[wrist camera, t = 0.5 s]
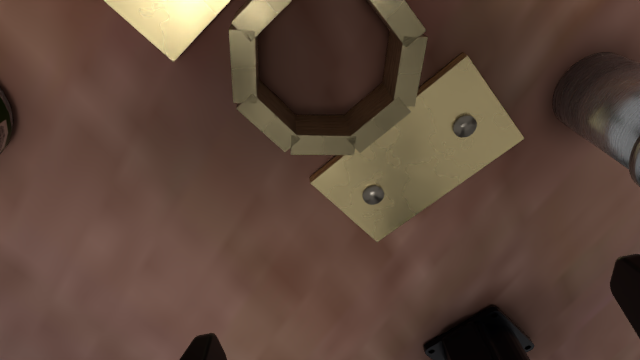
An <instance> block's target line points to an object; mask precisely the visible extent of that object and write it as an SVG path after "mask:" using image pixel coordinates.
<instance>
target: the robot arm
mask: <svg viewBox="0 0 640 360" xmlns="http://www.w3.org/2000/svg"><path fill="white" fill-rule="evenodd" d="M610 288H611V292H612V294H613V296H614V297H615V299H616V301H617V302H618V304H619V306H620V307H621V309H622V310H623V312H624V314H625V315H626V317H627V319H628V320H629V322H630V323H631V325H632V327H633V328H634V330H635V332H636V333H637V335H638V336H639V338H640V255H639V254H633V255H628V256H622V257H619V258H618V259H617V260H616V262H615V266H614V270H613V273H612V277H611V281H610ZM533 348H534V344H533V343H532V341H531V340H530V339H529V338H528V337H527V336H526V335H525V334H524V333H523V332H522V331H521V330H520V329H519V328H518V327H517V326H516V325H515V324H514V323H513V322H512V321H511V320H510V319H509V318H508V317H507V316H506V315H505V314H504V313H503V312H502V311H501V310H500V309H499V308H498V307H490V308H488V309H486V310H484V311H483V312H481V313H479V314H478V315H476V316H474V317H472V318H471V319H469V320H467V321H465V322H464V323H462V324H460V325H459V326H457V327H455V328H453V329H452V330H450V331H448V332H447V333H445V334H443V335H441V336H440V337H438V338H436V339H434V340H433V341H431V342H429V343H428V344H426V345H425V346H424V351H425V354H426V355H427V356H429V357H430V358H431V359H433V360H530V359H529V357H528V356H527V354H526V352H528V351H530V350H532V349H533ZM180 360H227V358H226V355H225V352H224V350H223V348H222V346H221V344H220V342H219V340H218V338H217V336H216V335H215V334H214V333H209V334H204V335H199V336H197V337H195V338H194V339H193V341H192V342H191V344H190V345H189V347H188V348H187V350H186V351H185V352H184V354H183V355H182V357H181V358H180Z"/></svg>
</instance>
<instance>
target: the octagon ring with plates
mask: <svg viewBox="0 0 640 360" xmlns="http://www.w3.org/2000/svg"><path fill="white" fill-rule="evenodd" d="M104 1H105V2H106V3H107V4H108V5H109V6H111V7H112V8H113V9H114V10H115V11H116V12H117V13H119V14H120V15H121V16H122V17H123V18H124V19H125V20H126V21H128V22H129V23H130V24H131V25H132V26H133V27H134V28H136V29H137V30H138V31H139V32H140V33H141V34H142V35H143V36H145V37H146V38H147V39H148V40H149V41H150V42H151V43H152V44H154V45H155V46H156V47H157V48H158V49H159V50H160V51H162V52H163V53H164V54H165V55H166V56H167V57H168V58H169V59H171V60H172V61H173V62H174V61H175V60H176V59H177V58H178V57H179V56H180V55H181V53H182V52H183V51H184V50H185V49H186V48H187V47H188V46H189V45H190V44H191V43H192V42H193V40H194V39H195V38H196V37H197V36H198V35H199V34H200V33H201V32H202V31H203V30H204V29H205V27H206V26H207V25H208V24H209V23H210V22H211V21H212V20H213V19H214V18H215V17H216V16H217V14H218V13H219V12H220V11H221V10H222V9H223V8H224V7H225V6H226V5H227V4H228V3H229V1H230V0H104ZM291 1H292V0H247V1H246V2H245V3H244V4H243V5H242V6H241V8H240V9H239V10H238V11H237V12H236V14H235V16H234V18H233V20H232V22H231V23H232V24H231V26H230V29H229V41H230V57H231V74H232V90H233V103H237V108H236V109H237V110H238V111H239V112H240V113H242V114H243V115H244V116H245V117H246V118H247V119H248V120H249V121H250V122H252V123H253V124H254V125H255V126H256V127H257V128H258V129H259V130H260V131H262V132H263V133H264V134H265V135H266V136H267V137H268V138H269V139H271V140H272V141H273V142H274V143H275V144H276V145H277V146H278V147H279V148H281V149H282V150H283V151H284V152H286V151H287V150H289V149H291V155H336V156H335V157H334V158H333V159H332V160H330V161H329V162H328V163H327V164H325V165H324V166H323V167H322V168H320V169H319V170H318V171H317V172H316V173H314V174H313V175H312V176H311V177H310V183H311V184H312V185H313V186H314V187H315V188H316V189H318V190H319V191H320V192H321V193H322V194H323V195H324V196H326V197H327V198H328V199H329V200H330V201H331V202H332V203H333V204H335V205H336V206H337V207H338V208H339V209H340V210H341V211H343V212H344V213H345V214H346V215H347V216H348V217H349V218H350V219H352V220H353V221H354V222H355V223H356V224H357V225H358V226H359V227H361V228H362V229H363V230H364V231H365V232H366V233H367V234H369V235H370V236H371V237H372V238H373V239H374V240H375V241H376V242H378V241H380V240H381V239H382V238H384V237H385V236H387V235H388V234H389V233H391V232H392V231H394V230H395V229H397V228H398V227H399V226H401V225H402V224H404V223H405V222H407V221H408V220H409V219H411V218H412V217H414V216H415V215H416V214H418V213H419V212H421V211H422V210H424V209H425V208H426V207H428V206H429V205H431V204H432V203H434V202H435V201H436V200H438V199H439V198H441V197H442V196H443V195H445V194H446V193H448V192H449V191H451V190H452V189H453V188H455V187H456V186H458V185H459V184H461V183H462V182H463V181H465V180H466V179H468V178H469V177H470V176H472V175H473V174H475V173H476V172H478V171H479V170H480V169H482V168H483V167H485V166H486V165H488V164H489V163H490V162H492V161H493V160H495V159H496V158H497V157H499V156H500V155H502V154H503V153H505V152H506V151H507V150H509V149H510V148H512V147H513V146H515V145H516V144H517V143H519V142H520V141H522V140H523V139H524V137H523V136H522V134H521V133H520V131H519V130H518V129H517V127H516V126H515V124H514V123H513V121H512V120H511V118H510V117H509V115H508V114H507V113H506V111H505V110H504V108H503V107H502V105H501V104H500V102H499V101H498V99H497V98H496V97H495V95H494V94H493V92H492V91H491V89H490V88H489V86H488V85H487V83H486V82H485V80H484V79H483V78H482V76H481V75H480V73H479V72H478V70H477V69H476V67H475V66H474V64H473V63H472V62H471V60H470V59H469V57H468V56H467V55H466V54H464V53H463V52H462V53H461V54H460V55H459V56H458V57H456V58H455V59H454V60H453V61H451V62H450V63H449V64H448V65H447V66H445V67H444V68H443V69H442V70H440V71H439V72H438V73H437V74H436V75H434V76H433V77H432V78H431V79H429V80H428V81H427V82H426V83H424V84H423V85H422V86H421V87H420V88H418V87H419V81H420V76H421V71H422V65H423V60H424V55H425V49H426V44H427V39H428V37H427V36H425V35H424V34H423V33H424V32H425V31H426V29H425V28H424V27H423V25H422V24H421V22H420V21H419V20H418V18H417V17H416V15H415V14H414V13H413V11H412V10H411V9H410V7H409V6H408V4H407V3H406V2H405V0H367V1H368V3H369V4H370V5H371V7H372V8H373V9H374V11H375V12H376V13H377V14H378V16H379V17H380V18H381V20H382V21H383V22H384V23H385V25H386V26H387V27H388V29H389V30H390V31H389V38H388V45H387V52H386V60H385V67H384V74H383V81H382V83H381V84H380V85H379V86H378V87H377V88H375V89H374V90H373V91H372V92H371V93H370V94H368V95H367V96H366V97H365V98H364V99H363V100H361V101H360V102H359V103H358V104H357V105H355V106H354V107H353V108H352V109H351V110H350V111H348V112H347V113H346V114H345V115H295V114H294V113H293V112H292V111H291V110H290V109H289V108H288V107H287V106H286V105H285V104H284V103H283V102H282V101H281V100H280V99H279V98H278V97H277V96H276V95H275V94H274V93H272V92H271V91H270V90H269V89H268V88H267V87H266V86H265V85H264V84H263V83H262V82H261V81H260V80H259V56H258V34H259V33H260V32H261V31H262V30H263V29H264V28H265V27H266V26H267V25H268V24H269V23H270V22H271V21H272V20H273V19H274V18H275V17H276V16H277V15H278V14H279V13H280V12H281V11H282V10H283V9H284V8H285V7H286V6H287V5H288V4H289V3H290V2H291Z"/></svg>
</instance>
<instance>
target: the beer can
mask: <svg viewBox="0 0 640 360" xmlns="http://www.w3.org/2000/svg"><path fill="white" fill-rule="evenodd" d="M12 127H13V116H12V110H11V106H10V104H9V102H8V100H7V98H6V96H5V94H4V93H3V91H2V90H1V89H0V153H1V152H2V151H3V150H4V149H5V147H6V146H7V145H8V144H9V140H10V136H11V132H12Z"/></svg>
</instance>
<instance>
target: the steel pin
mask: <svg viewBox="0 0 640 360" xmlns="http://www.w3.org/2000/svg"><path fill="white" fill-rule="evenodd" d="M553 110H554V113H555V115H556V117H557V118H558V119H559V120H560V121H561V122H562V123H564V124H565V125H567V126H568V127H569V128H571V129H572V130H574V131H575V132H577V133H578V134H579V135H581V136H582V137H584V138H585V139H586V140H588V141H589V142H591V143H592V144H594V145H595V146H596V147H598V148H599V149H601V150H602V151H603V152H605V153H606V154H608V155H609V156H611V157H612V158H613V159H615V160H616V161H618V162H619V163H621V164H622V165H623V166H625V167H626V168H628V169H629V172H630V175H631V178H632V179H633V181H634V182H635V183H636V184H637V185H638V186H639V187H640V63H638V62H635V61H633V60H630V59H628V58H625V57H623V56H620V55H617V54H614V53H609V52H602V53H597V54H593V55H590V56H588V57H586V58H584V59H582V60H580V61H579V62H577V63H576V64H575V65H573V66H572V67H571V68H570V69H569V70H568V71H567V72H566V73H565V74H564V75H563V77H562V78H561V80H560V81H559V83H558V85H557V87H556V89H555V92H554V95H553Z"/></svg>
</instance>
